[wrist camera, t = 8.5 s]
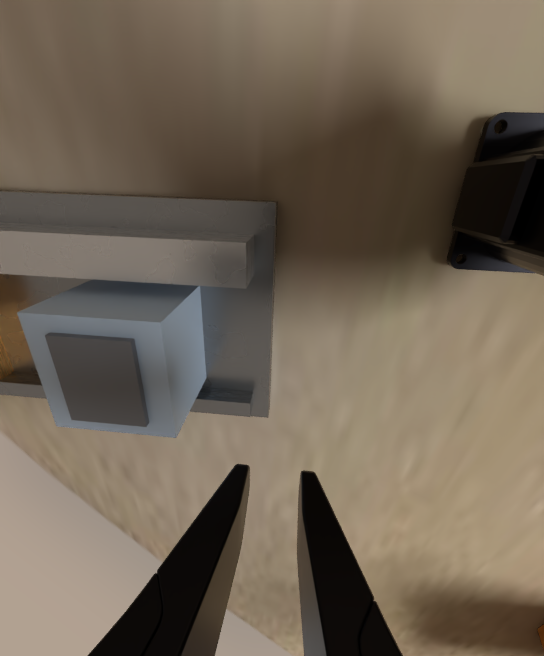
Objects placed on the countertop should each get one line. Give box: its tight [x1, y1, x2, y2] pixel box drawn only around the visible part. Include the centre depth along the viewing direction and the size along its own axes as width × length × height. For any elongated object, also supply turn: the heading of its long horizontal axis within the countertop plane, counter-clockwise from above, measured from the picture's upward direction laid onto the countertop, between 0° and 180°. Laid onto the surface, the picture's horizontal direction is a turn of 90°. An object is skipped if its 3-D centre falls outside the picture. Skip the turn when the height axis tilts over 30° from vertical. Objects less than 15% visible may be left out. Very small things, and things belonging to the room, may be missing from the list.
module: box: [17, 279, 206, 438], centre depth 15 cm, size 6×6×5 cm
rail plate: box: [0, 190, 277, 417], centre depth 17 cm, size 20×13×4 cm, turn 88°
